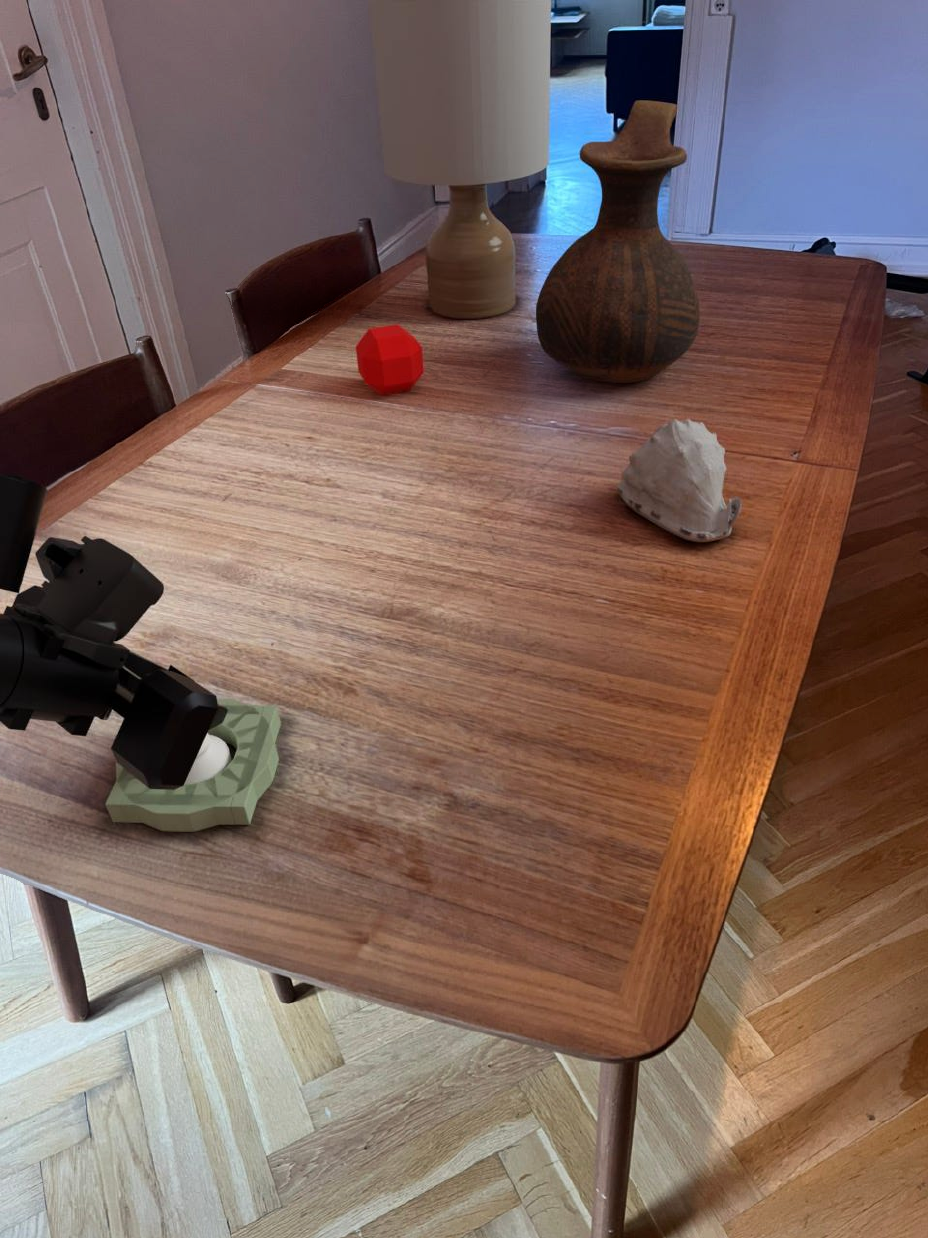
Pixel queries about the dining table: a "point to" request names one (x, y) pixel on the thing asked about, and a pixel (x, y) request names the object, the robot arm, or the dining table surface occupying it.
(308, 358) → the dining table surface
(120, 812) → the pad
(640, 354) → the jug
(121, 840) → the dining table surface
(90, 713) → the robot arm
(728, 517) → the seashell
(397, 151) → the lamp
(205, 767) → the chess pawn
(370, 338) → the ball
